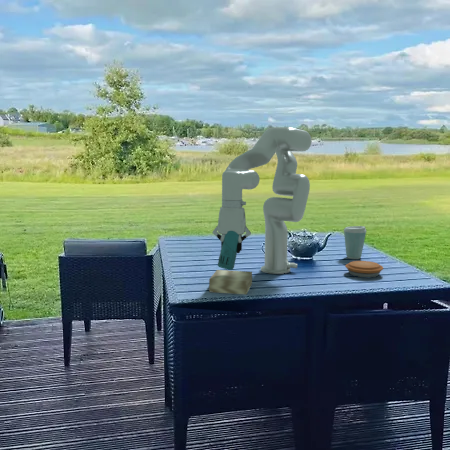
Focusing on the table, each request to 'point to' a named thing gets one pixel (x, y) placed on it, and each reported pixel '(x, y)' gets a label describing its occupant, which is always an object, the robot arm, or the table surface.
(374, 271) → the pie
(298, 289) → the table surface
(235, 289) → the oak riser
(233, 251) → the beverage bottle
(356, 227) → the disposable coffee cup
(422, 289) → the table surface
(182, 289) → the table surface
